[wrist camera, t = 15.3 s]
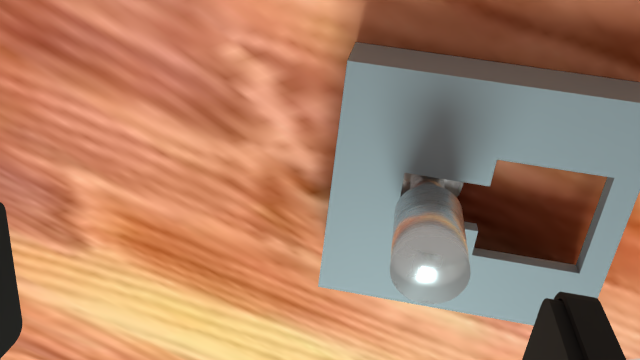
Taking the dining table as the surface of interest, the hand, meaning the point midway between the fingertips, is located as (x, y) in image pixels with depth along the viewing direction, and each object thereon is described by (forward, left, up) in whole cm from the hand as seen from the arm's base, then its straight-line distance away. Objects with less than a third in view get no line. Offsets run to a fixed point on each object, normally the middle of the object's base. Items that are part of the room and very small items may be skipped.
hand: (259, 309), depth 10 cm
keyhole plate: (-8, +10, -30) cm, 33 cm away
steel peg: (-5, +10, -30) cm, 32 cm away
